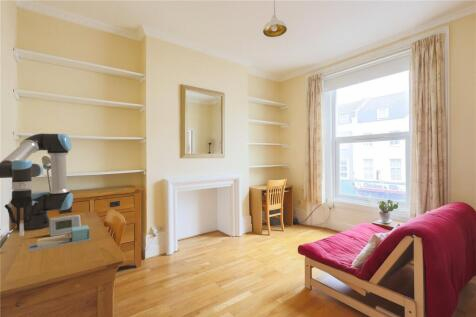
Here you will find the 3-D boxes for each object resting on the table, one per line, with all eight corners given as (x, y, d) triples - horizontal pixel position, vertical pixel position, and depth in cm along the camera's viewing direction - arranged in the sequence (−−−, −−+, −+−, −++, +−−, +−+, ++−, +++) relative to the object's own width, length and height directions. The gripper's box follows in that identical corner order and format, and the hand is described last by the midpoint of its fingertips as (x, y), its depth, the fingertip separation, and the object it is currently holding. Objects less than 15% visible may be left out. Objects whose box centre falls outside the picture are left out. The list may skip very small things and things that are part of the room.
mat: (29, 245, 127) (29, 244, 127) (88, 235, 144) (88, 234, 144) (27, 252, 117) (27, 251, 117) (90, 240, 134) (90, 239, 134)
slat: (37, 244, 127) (37, 239, 127) (69, 239, 135) (69, 234, 135) (37, 247, 123) (37, 241, 123) (70, 241, 132) (69, 235, 132)
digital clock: (48, 238, 139) (48, 220, 139) (50, 234, 147) (50, 217, 147) (81, 233, 148) (80, 216, 148) (81, 229, 156) (81, 213, 156)
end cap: (71, 237, 138) (71, 227, 138) (87, 234, 143) (87, 225, 143) (72, 241, 131) (72, 231, 131) (89, 238, 136) (89, 228, 136)
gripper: (3, 191, 114) (2, 240, 114) (38, 189, 122) (38, 234, 122) (5, 190, 120) (5, 236, 120) (38, 188, 128) (38, 231, 128)
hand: (21, 235), depth 121 cm, fingers closed
